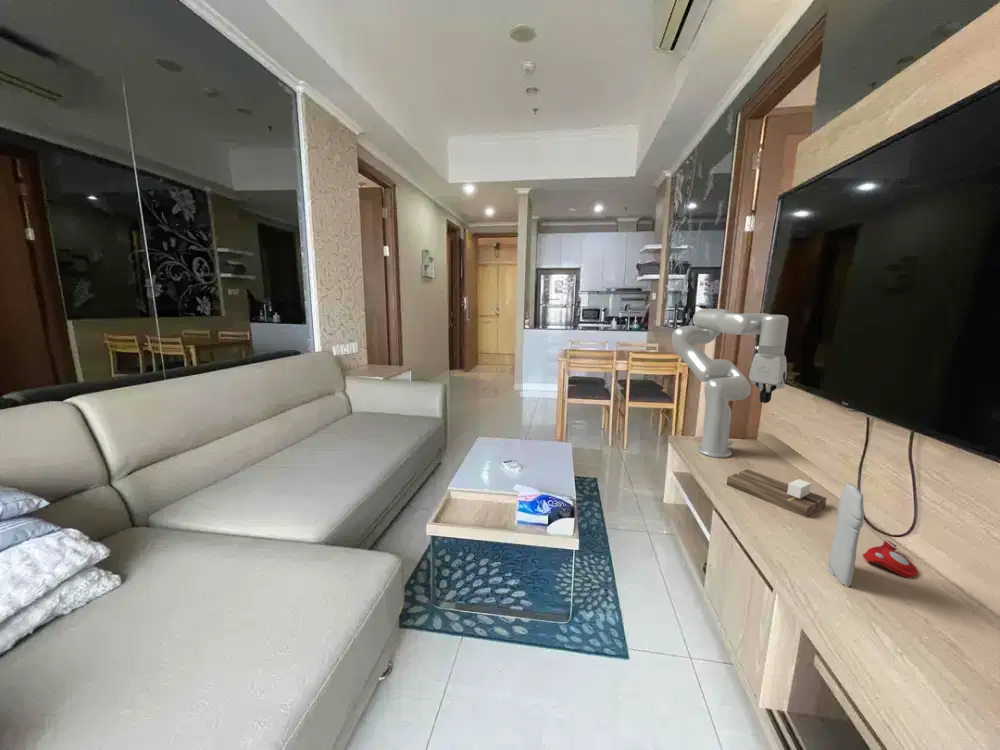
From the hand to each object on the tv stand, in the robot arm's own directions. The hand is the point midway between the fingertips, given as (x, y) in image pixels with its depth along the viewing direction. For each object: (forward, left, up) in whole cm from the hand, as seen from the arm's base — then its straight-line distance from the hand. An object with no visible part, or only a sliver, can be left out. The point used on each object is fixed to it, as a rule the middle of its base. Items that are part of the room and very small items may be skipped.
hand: (764, 402), depth 143 cm
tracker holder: (+23, +45, -28) cm, 57 cm away
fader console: (+12, +12, -27) cm, 32 cm away
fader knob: (+12, +19, -25) cm, 34 cm away
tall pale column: (+39, +40, -27) cm, 62 cm away
